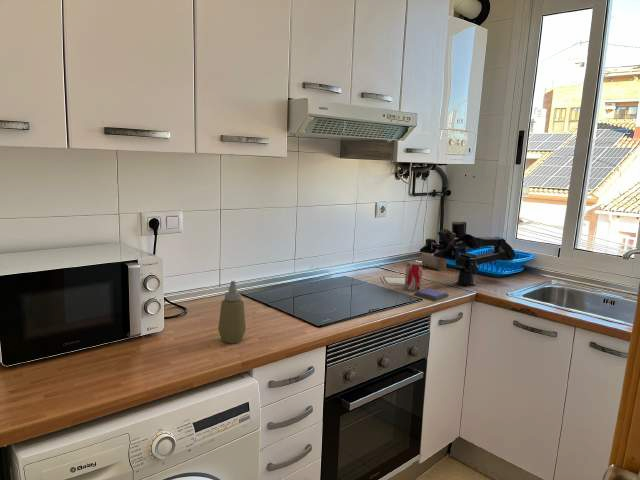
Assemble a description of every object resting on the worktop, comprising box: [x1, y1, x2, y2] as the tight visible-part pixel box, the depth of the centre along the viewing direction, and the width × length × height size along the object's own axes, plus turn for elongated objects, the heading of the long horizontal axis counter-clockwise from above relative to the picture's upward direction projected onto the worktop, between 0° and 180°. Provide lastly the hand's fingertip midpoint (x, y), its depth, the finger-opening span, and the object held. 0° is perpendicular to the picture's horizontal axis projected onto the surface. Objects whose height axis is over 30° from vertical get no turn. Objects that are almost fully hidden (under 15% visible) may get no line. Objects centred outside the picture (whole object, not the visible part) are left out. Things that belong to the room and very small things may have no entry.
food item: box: [421, 249, 448, 271], centre depth 251 cm, size 14×8×10 cm, turn 34°
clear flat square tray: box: [380, 275, 405, 287], centre depth 218 cm, size 14×14×1 cm
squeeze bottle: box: [217, 280, 247, 344], centre depth 138 cm, size 8×8×18 cm
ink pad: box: [414, 287, 449, 302], centre depth 197 cm, size 10×10×2 cm
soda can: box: [404, 260, 423, 292], centre depth 205 cm, size 7×7×12 cm
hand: (426, 252), depth 204 cm, fingers open, 9 cm apart
